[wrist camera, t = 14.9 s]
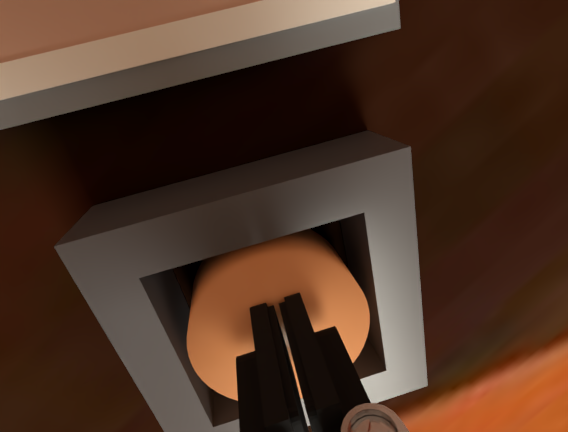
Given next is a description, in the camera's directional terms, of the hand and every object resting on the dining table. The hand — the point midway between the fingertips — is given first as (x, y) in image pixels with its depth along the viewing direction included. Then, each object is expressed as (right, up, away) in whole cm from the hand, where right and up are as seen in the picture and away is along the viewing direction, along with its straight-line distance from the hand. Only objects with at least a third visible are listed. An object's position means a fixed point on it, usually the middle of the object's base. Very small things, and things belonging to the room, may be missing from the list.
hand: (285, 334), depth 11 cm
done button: (-1, +1, +2) cm, 3 cm away
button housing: (-1, +1, +3) cm, 3 cm away
